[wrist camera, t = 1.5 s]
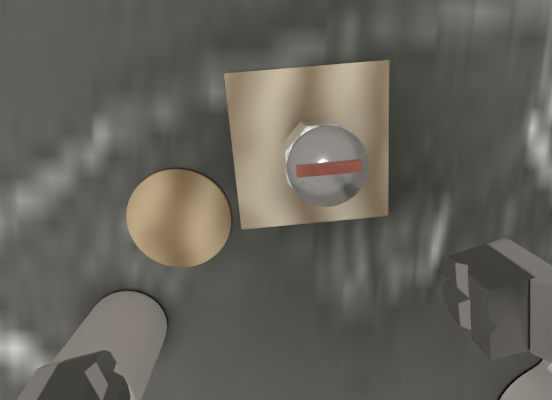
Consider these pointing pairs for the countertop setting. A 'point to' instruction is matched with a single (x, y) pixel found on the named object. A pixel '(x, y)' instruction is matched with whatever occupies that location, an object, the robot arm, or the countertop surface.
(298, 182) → the cap
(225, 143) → the countertop surface
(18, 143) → the countertop surface
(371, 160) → the post stand
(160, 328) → the pill bottle
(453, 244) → the countertop surface
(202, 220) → the coaster
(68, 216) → the countertop surface
